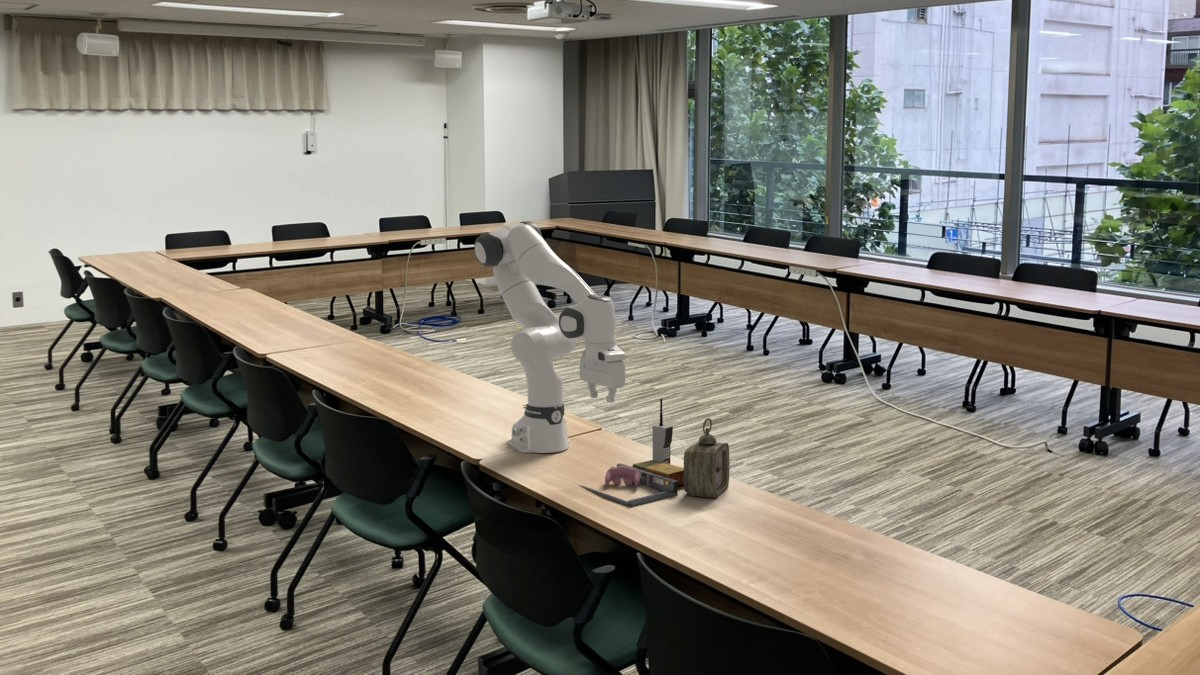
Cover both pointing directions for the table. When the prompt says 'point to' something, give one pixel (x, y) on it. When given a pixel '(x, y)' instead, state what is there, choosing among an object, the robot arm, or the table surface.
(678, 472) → the carton
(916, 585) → the table surface
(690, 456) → the tabletop clock
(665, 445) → the vintage mobile phone
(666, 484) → the dock panel
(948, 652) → the table surface
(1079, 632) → the table surface
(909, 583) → the table surface
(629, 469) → the purple lumpy piece
